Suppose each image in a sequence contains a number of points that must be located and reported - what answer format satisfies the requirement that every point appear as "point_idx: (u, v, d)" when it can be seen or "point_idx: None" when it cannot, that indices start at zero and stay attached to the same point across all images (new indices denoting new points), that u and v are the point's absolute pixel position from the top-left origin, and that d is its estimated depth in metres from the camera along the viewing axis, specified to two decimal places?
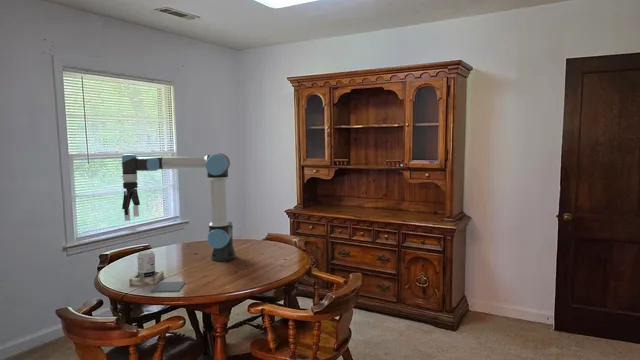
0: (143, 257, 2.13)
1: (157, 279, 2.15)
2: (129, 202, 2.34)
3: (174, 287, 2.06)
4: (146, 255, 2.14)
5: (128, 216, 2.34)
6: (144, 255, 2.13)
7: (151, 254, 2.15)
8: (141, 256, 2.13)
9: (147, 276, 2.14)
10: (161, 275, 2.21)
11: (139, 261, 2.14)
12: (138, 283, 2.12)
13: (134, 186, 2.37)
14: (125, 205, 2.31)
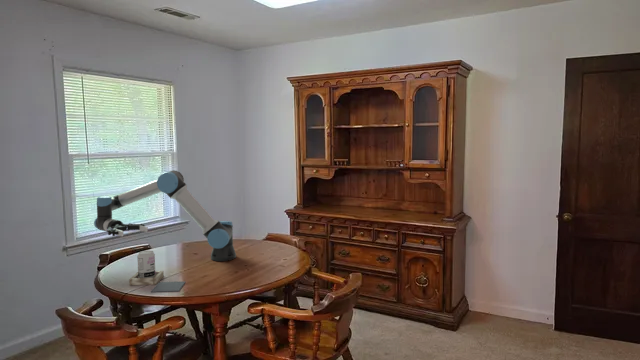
0: (143, 257, 2.13)
1: (157, 279, 2.15)
2: (114, 228, 2.23)
3: (174, 287, 2.06)
4: (146, 255, 2.14)
5: (119, 231, 2.17)
6: (144, 255, 2.13)
7: (151, 254, 2.15)
8: (141, 256, 2.13)
9: (147, 276, 2.14)
10: (161, 275, 2.21)
11: (139, 261, 2.14)
12: (138, 283, 2.12)
13: (112, 222, 2.30)
14: (108, 231, 2.19)
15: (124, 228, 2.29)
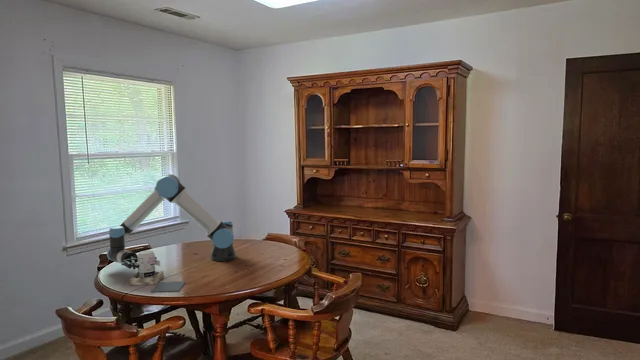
0: (143, 257, 2.13)
1: (157, 279, 2.15)
2: (132, 261, 2.17)
3: (174, 287, 2.06)
4: (146, 255, 2.14)
5: (140, 265, 2.12)
6: (144, 255, 2.13)
7: (151, 254, 2.15)
8: (141, 256, 2.13)
9: (147, 276, 2.14)
10: (161, 275, 2.21)
11: (139, 261, 2.14)
12: (138, 283, 2.12)
13: (126, 254, 2.24)
14: (128, 264, 2.14)
15: None
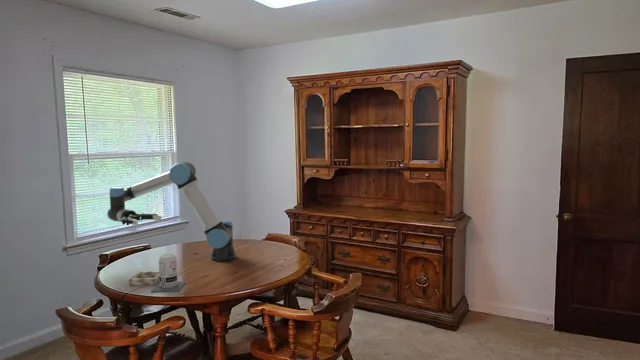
0: (165, 261, 2.03)
1: (157, 279, 2.15)
2: (128, 218, 2.24)
3: (174, 287, 2.06)
4: (168, 259, 2.04)
5: (133, 220, 2.19)
6: (166, 259, 2.04)
7: (173, 258, 2.06)
8: (163, 260, 2.03)
9: (169, 281, 2.04)
10: None
11: (161, 266, 2.04)
12: (138, 283, 2.12)
13: (125, 212, 2.32)
14: (122, 220, 2.21)
15: (137, 218, 2.31)
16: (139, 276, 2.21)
